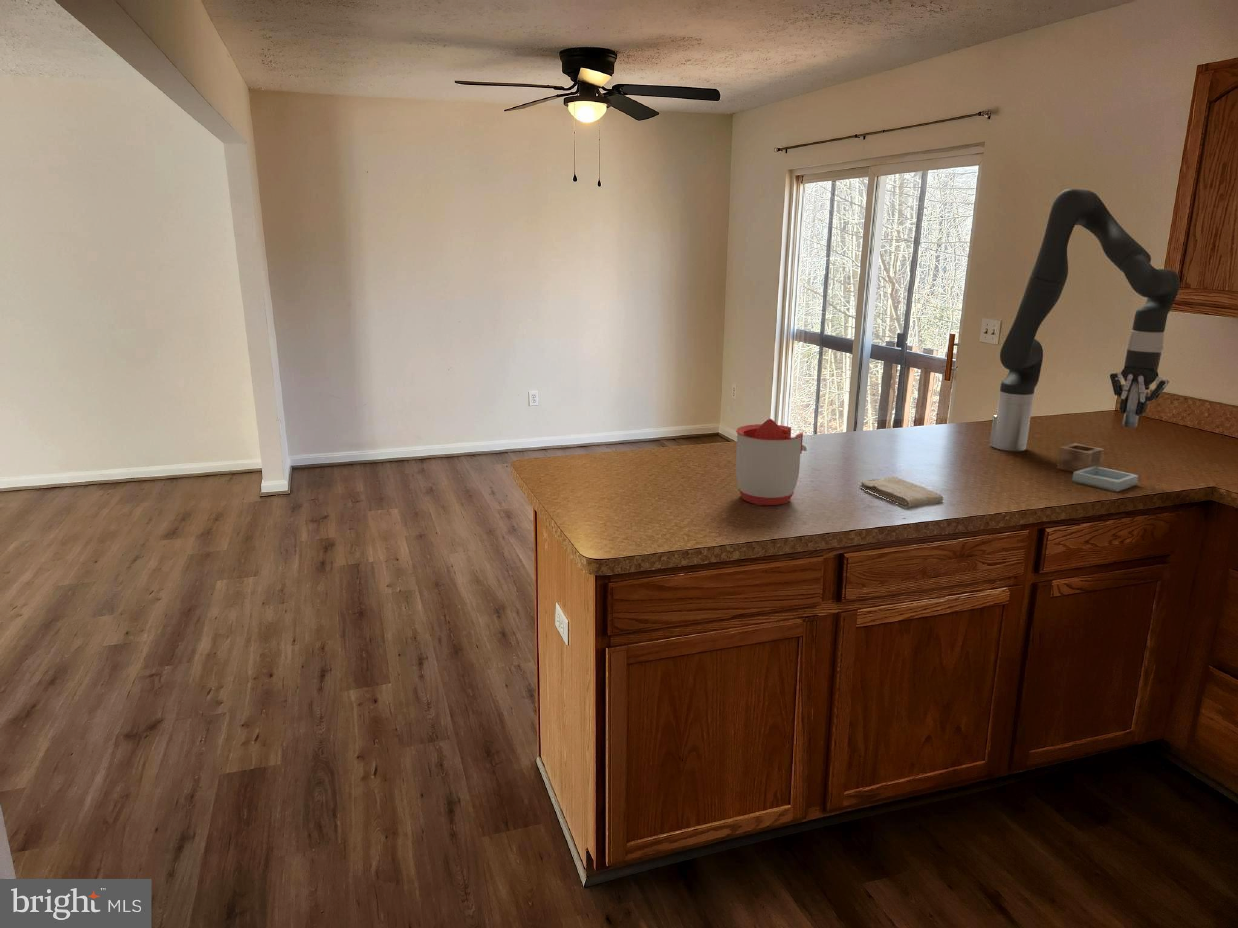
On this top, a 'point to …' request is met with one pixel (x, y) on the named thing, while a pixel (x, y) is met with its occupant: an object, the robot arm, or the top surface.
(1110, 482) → the tray
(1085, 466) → the square hollow tube
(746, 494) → the citrus juicer
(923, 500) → the washcloth
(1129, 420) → the pin
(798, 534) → the top surface
